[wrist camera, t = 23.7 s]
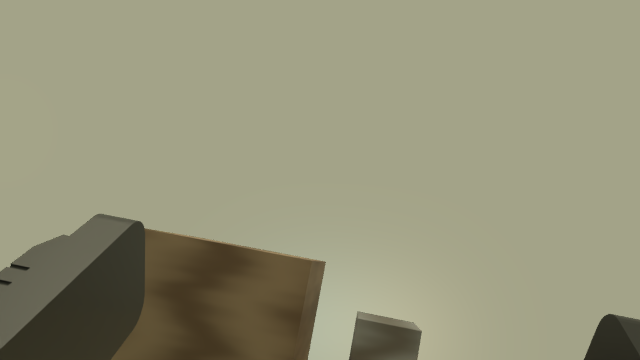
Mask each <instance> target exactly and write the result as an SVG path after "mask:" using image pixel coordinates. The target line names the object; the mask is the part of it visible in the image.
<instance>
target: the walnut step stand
mask: <svg viewBox="0 0 640 360" xmlns="http://www.w3.org/2000/svg"><path fill="white" fill-rule="evenodd" d="M144 229H145V228H144ZM325 263H326V262H323V261H318V260H313V259H308V258H303V257H298V256H292V255H287V254H282V253H277V252H272V251H266V250H261V249H256V248H251V247H246V246H240V245H235V244H230V243H225V242H219V241H214V240H209V239H204V238H198V237H193V236H187V235H181V234H175V233H169V232H163V231H157V230H151V229H145V297H144V304H143V308H142V312H141V315H140V317H139V320H138V322H137V324H136V326H135V328H134V329H133V331H132V332H131V333H130V335H129V336H128V337H127V339H126V340H125V341H124V343H123V344H122V345H121V347H120V348H119V349H118V351H117V352H116V353H115V355H114V356H113V357H112V359H111V360H308V354H309V349H310V344H311V338H312V332H313V327H314V322H315V316H316V311H317V306H318V300H319V295H320V290H321V284H322V279H323V274H324V268H325Z"/></svg>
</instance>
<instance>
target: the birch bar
mask: <svg viewBox="0 0 640 360" xmlns="http://www.w3.org/2000/svg"><path fill="white" fill-rule="evenodd" d="M421 333H422V331H421V330H420V329H419V328H418V327H417V326H416V325H415V324H414V323H413V322H408V321H403V320H398V319H393V318H388V317H383V316H378V315H373V314H368V313H363V312H357V318H356V323H355V329H354V335H353V341H352V346H351V352H350V357H349V360H417V357H418V351H419V345H420V339H421Z"/></svg>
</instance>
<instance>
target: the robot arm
mask: <svg viewBox="0 0 640 360" xmlns="http://www.w3.org/2000/svg"><path fill="white" fill-rule="evenodd" d="M144 297H145V229H144V226H143V224H142V223H141V222H140V221H135V220H130V219H125V218H120V217H114V216H109V215H104V214H97V215H95V216H94V217H93V218H91V219H90V220H89V221H87V222H86V223H85V224H84V225H83V226H81V227H80V228H79V229H78V230H76V231H75V232H74V233H73V234H71V235H70V236H66V235H61V236H59V237H56V238H54V239H52V240H49V241H46V242H44V243H41V244H39V245H36V246H34V247H32V248H31V249H30V250H28V251H27V252H26V253H25V254H23V255H22V256H20V257H19V258H18V259H16V260H15V261H14V262H12V263H11V266H10V268H9V267H6V268H5V269H3V270H2V271H1V272H0V360H111V359H112V357H113V356H114V355H115V353H116V352H117V351H118V349H119V348H120V347H121V345H122V344H123V343H124V341H125V340H126V339H127V337H128V336H129V335H130V333H131V332H132V331H133V329H134V328H135V326H136V324H137V322H138V320H139V317H140V315H141V312H142V308H143V304H144ZM584 360H640V320H638V319H633V318H628V317H623V316H618V315H613V314H608V315H606V316H604V317H603V318H602V319H601V321H600V323H599V325H598V327H597V329H596V332H595V334H594V336H593V339H592V341H591V344H590V346H589V349H588V351H587V354H586V356H585V358H584Z"/></svg>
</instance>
